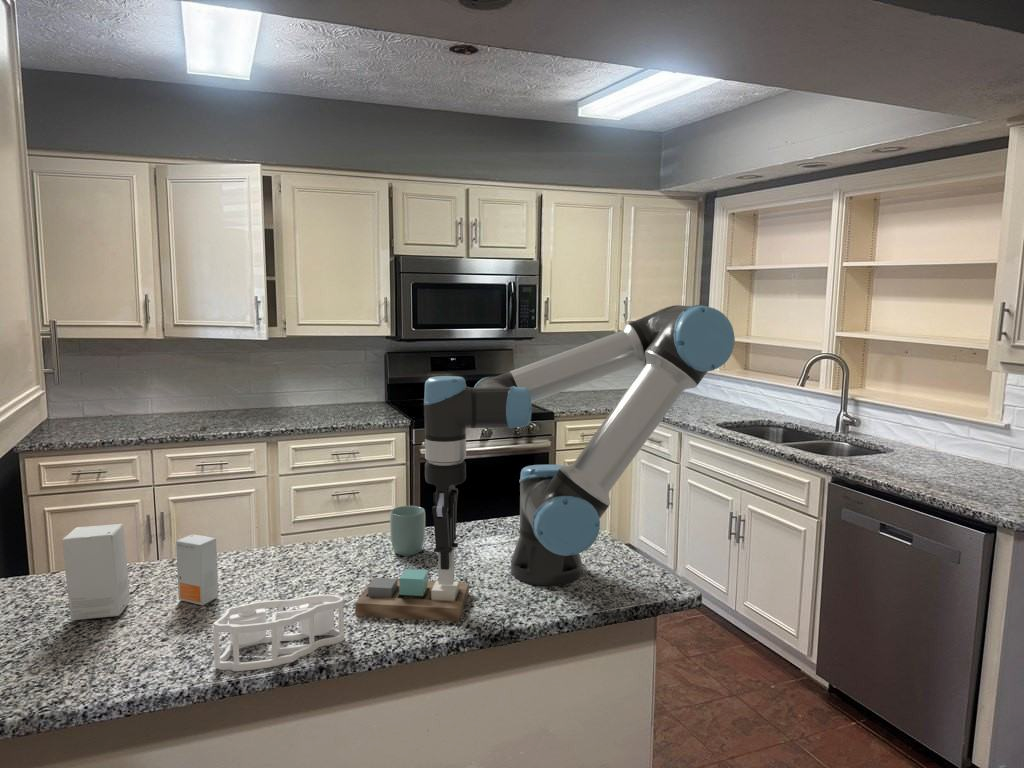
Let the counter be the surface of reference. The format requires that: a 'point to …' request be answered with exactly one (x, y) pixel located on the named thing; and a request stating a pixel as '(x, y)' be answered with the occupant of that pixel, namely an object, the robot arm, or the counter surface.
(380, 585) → the key
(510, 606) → the counter surface
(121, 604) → the skincare box
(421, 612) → the keypad
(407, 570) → the key
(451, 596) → the key
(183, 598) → the skincare box
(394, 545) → the cup
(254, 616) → the car outline toy
